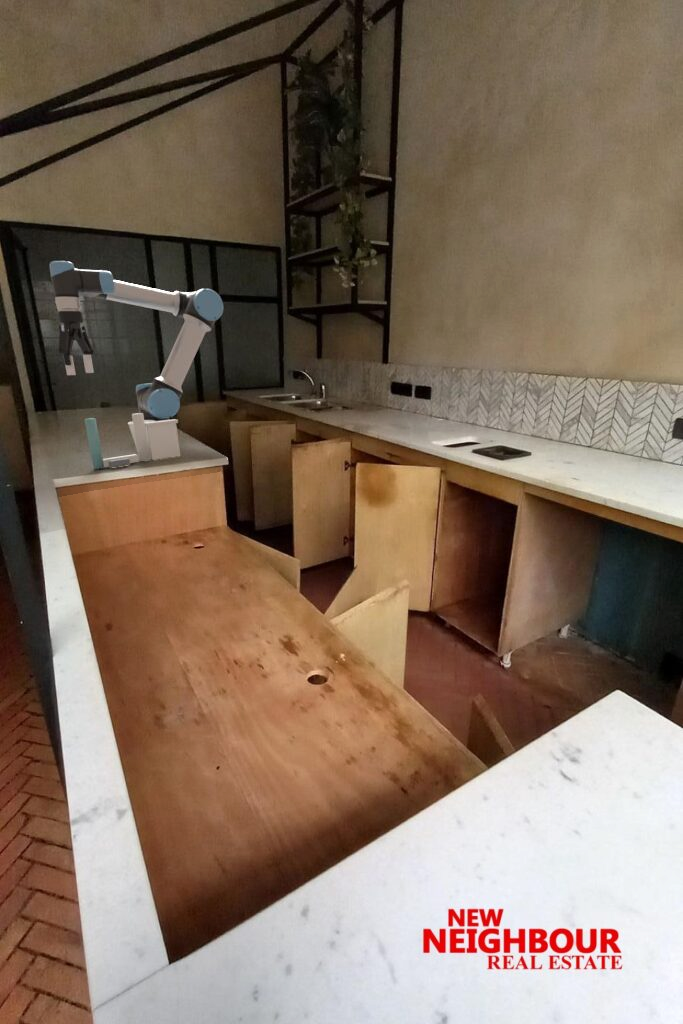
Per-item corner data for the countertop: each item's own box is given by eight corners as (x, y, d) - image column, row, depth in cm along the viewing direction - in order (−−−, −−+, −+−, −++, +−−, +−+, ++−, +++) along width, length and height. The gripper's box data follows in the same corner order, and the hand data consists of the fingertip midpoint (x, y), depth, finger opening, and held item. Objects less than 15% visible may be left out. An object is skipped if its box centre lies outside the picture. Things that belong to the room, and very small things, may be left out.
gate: (147, 458, 175) (140, 412, 169) (151, 460, 172) (144, 413, 167) (92, 467, 163) (83, 418, 158) (95, 469, 161) (86, 419, 156)
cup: (133, 454, 183) (128, 424, 180) (130, 450, 192) (126, 421, 188) (161, 451, 188) (157, 422, 184) (157, 447, 196) (153, 419, 192)
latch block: (128, 464, 168) (127, 457, 167) (130, 465, 166) (129, 458, 165) (109, 467, 164) (108, 460, 163) (111, 468, 162) (110, 461, 162)
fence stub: (179, 454, 181) (174, 419, 177) (182, 456, 179) (177, 419, 175) (148, 459, 175) (143, 422, 170) (151, 461, 172) (146, 423, 168)
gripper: (76, 313, 185) (87, 372, 192) (38, 308, 161) (51, 376, 168) (96, 312, 185) (106, 371, 192) (61, 308, 161) (74, 375, 168)
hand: (81, 374), depth 180 cm, fingers open, 13 cm apart
